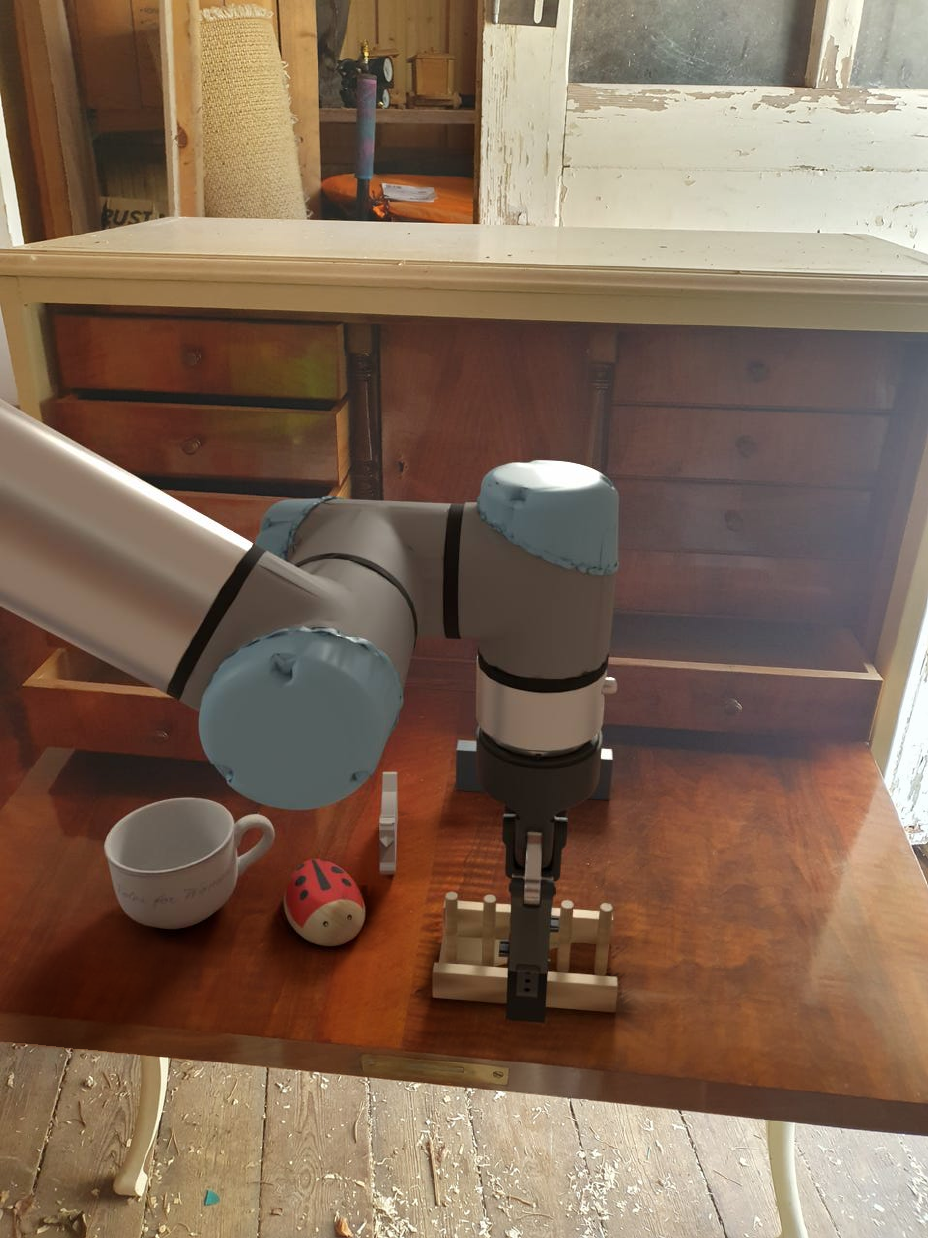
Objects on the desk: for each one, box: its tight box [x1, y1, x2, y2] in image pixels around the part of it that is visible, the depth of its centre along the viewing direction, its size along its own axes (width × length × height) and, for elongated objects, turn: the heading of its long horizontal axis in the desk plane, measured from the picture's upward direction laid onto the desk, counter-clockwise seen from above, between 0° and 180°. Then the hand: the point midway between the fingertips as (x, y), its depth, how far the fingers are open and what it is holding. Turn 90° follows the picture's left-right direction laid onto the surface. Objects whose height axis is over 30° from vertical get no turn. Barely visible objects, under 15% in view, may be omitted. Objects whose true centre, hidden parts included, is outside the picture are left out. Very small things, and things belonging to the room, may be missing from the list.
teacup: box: [103, 797, 276, 930], centre depth 84 cm, size 14×11×8 cm
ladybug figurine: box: [283, 858, 366, 947], centre depth 84 cm, size 7×10×4 cm
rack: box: [432, 891, 619, 1013], centre depth 76 cm, size 14×8×8 cm, turn 85°
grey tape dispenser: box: [378, 771, 399, 875], centre depth 91 cm, size 6×1×10 cm
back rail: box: [455, 739, 614, 801], centre depth 100 cm, size 16×2×5 cm, turn 85°
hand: (525, 1013), depth 67 cm, fingers closed
